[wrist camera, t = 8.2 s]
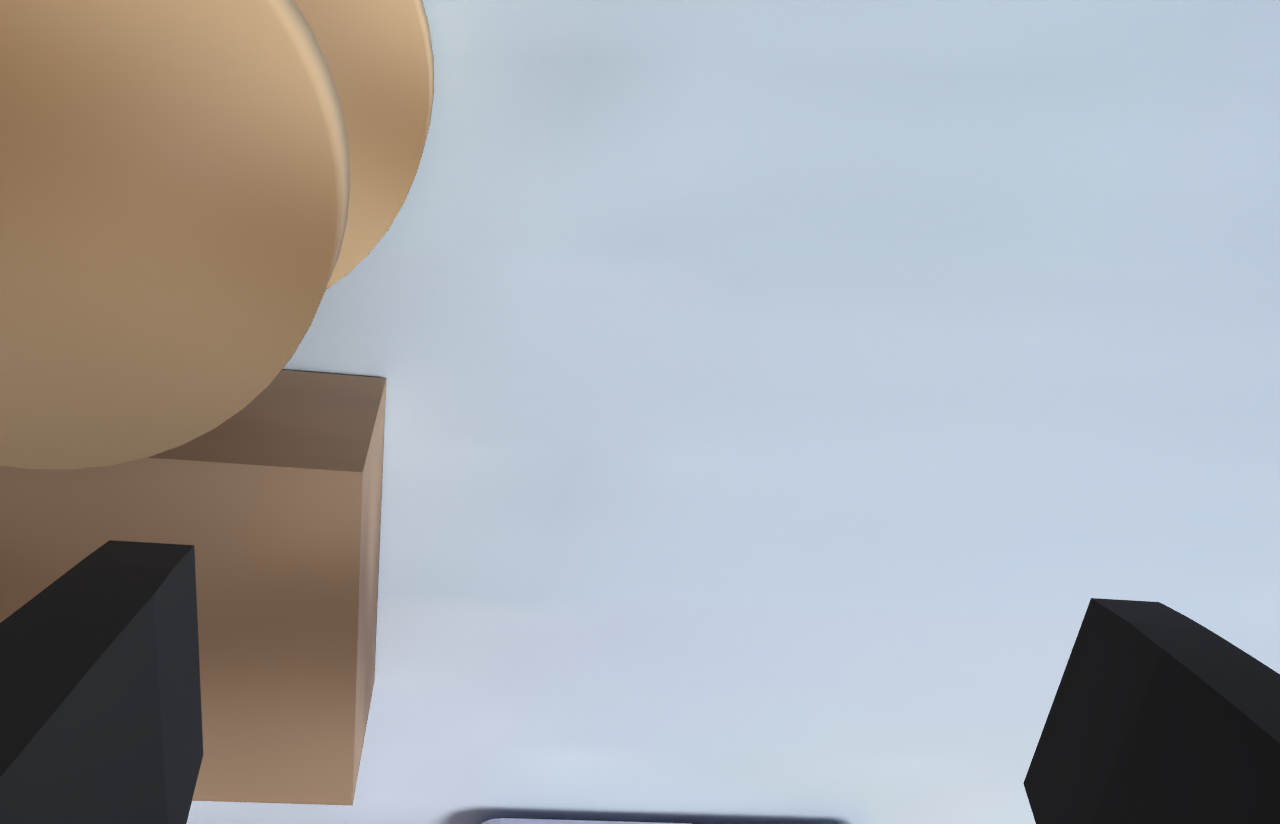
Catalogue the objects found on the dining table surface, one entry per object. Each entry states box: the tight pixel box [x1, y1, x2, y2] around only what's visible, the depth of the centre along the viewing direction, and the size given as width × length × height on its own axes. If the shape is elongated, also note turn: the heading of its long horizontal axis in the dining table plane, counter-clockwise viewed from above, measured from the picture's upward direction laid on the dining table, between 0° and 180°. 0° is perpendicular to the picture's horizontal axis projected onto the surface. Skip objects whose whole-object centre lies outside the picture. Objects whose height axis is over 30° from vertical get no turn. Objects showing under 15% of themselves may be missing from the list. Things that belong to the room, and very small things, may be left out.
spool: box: [0, 0, 434, 470], centre depth 13 cm, size 7×7×6 cm
